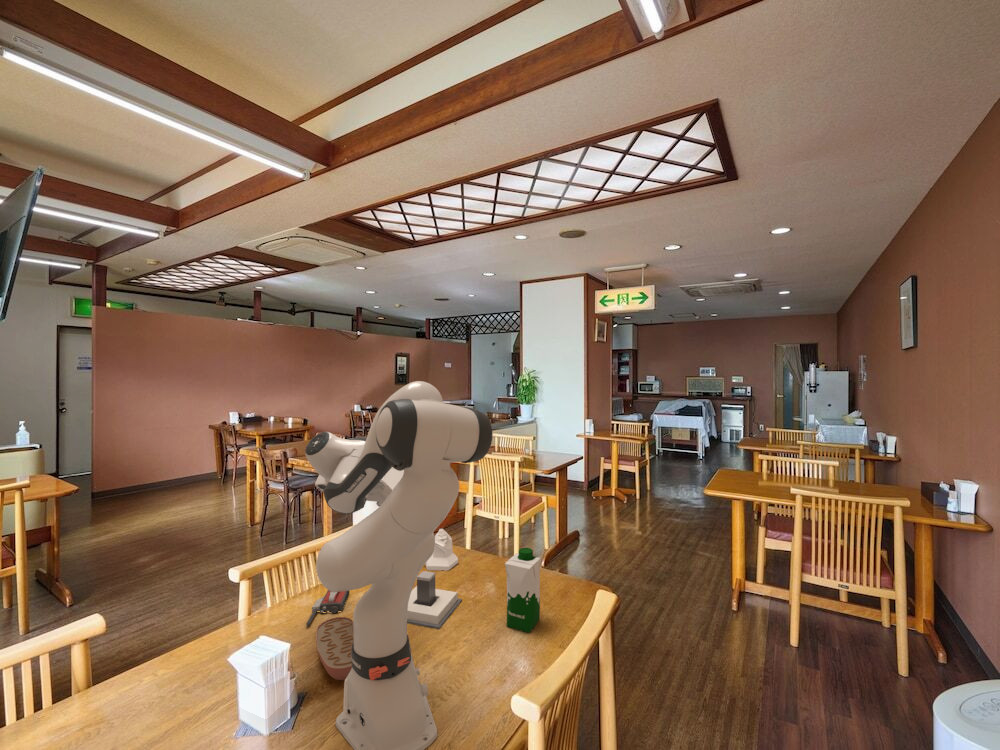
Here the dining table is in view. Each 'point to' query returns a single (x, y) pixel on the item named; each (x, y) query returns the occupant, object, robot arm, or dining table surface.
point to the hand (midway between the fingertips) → (367, 502)
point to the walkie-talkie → (329, 603)
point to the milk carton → (523, 590)
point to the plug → (426, 588)
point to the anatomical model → (335, 646)
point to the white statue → (442, 553)
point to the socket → (432, 609)
